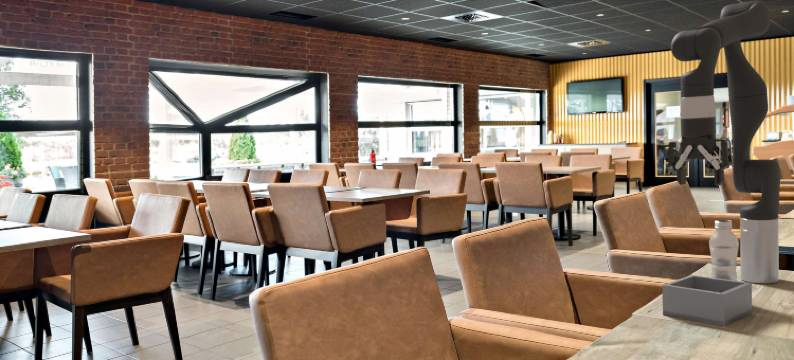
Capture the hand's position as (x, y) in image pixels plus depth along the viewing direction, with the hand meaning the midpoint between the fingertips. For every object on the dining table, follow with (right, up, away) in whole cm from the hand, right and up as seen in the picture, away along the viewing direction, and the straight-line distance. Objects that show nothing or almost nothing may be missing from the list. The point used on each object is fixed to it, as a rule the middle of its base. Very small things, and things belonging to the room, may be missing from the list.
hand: (700, 184), depth 159 cm
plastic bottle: (+9, -29, +6) cm, 31 cm away
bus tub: (0, -30, -4) cm, 30 cm away
